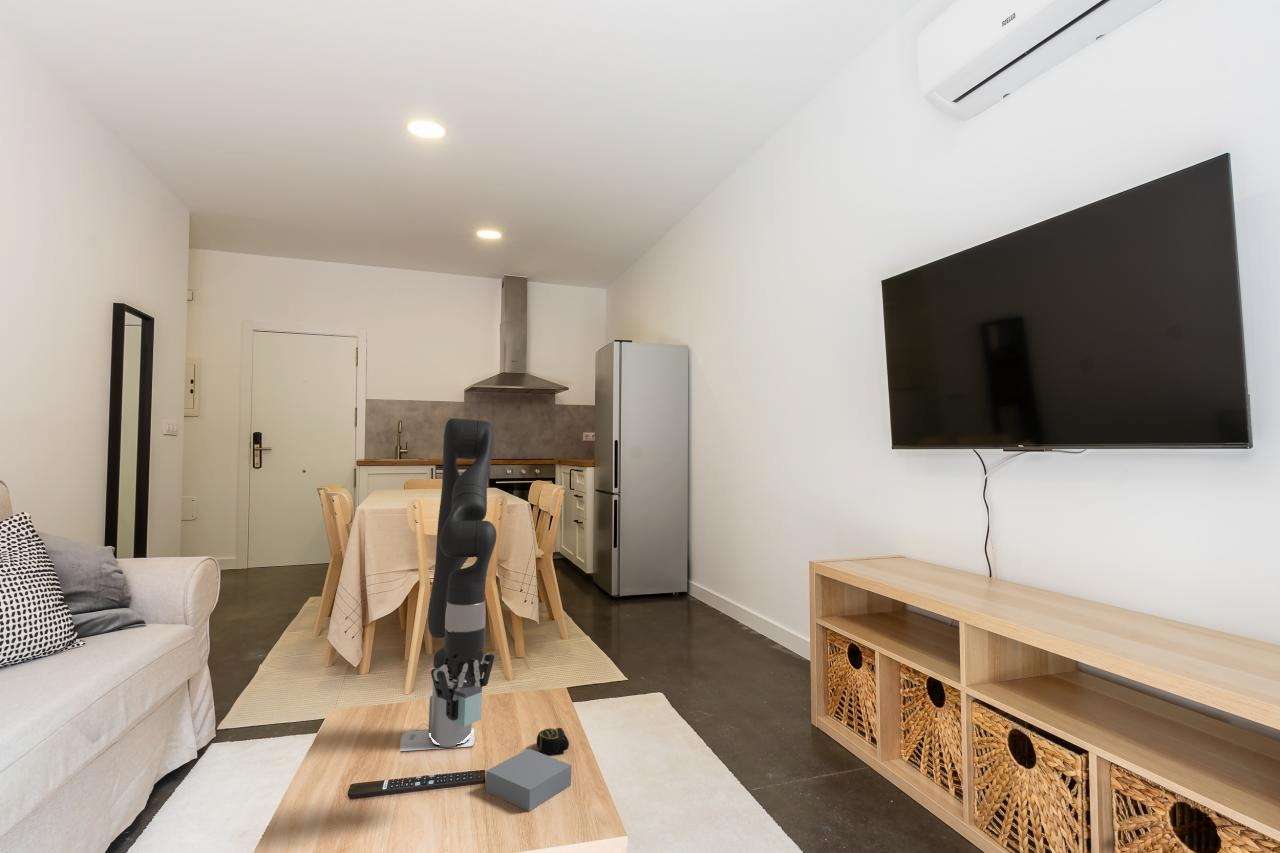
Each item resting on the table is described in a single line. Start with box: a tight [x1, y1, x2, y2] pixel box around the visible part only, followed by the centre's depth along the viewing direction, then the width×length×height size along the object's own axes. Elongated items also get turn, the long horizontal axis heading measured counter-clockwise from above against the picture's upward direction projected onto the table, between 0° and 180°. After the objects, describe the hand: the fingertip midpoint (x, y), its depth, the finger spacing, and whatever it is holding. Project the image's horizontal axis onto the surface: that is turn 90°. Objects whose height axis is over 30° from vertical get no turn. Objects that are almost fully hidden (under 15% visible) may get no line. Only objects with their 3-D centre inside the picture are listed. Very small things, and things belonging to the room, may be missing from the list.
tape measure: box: [536, 727, 570, 754], centre depth 145 cm, size 7×7×4 cm
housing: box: [443, 682, 483, 727], centre depth 121 cm, size 6×4×6 cm, turn 56°
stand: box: [485, 748, 572, 812], centre depth 128 cm, size 12×12×4 cm
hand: (462, 714), depth 121 cm, fingers closed on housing, 4 cm apart
